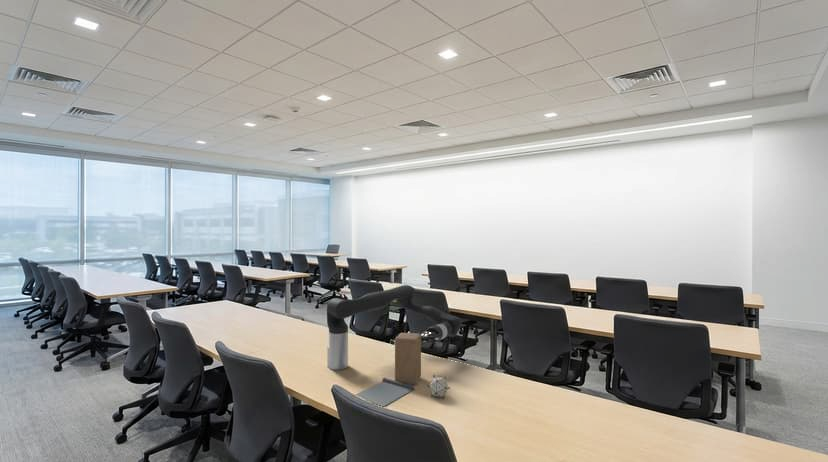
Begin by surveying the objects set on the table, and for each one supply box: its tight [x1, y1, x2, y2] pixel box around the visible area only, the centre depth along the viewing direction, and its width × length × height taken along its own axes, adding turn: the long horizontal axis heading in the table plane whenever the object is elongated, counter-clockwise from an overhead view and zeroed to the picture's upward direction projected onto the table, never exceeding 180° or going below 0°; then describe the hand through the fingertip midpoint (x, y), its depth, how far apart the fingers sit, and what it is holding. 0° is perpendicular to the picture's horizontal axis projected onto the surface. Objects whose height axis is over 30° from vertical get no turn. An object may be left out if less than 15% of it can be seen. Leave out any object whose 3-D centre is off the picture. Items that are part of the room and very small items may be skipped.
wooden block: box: [394, 332, 422, 386], centre depth 171 cm, size 10×10×20 cm
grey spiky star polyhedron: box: [426, 374, 451, 400], centre depth 154 cm, size 9×8×10 cm
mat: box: [355, 377, 415, 408], centre depth 157 cm, size 16×20×2 cm
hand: (416, 340), depth 177 cm, fingers closed
